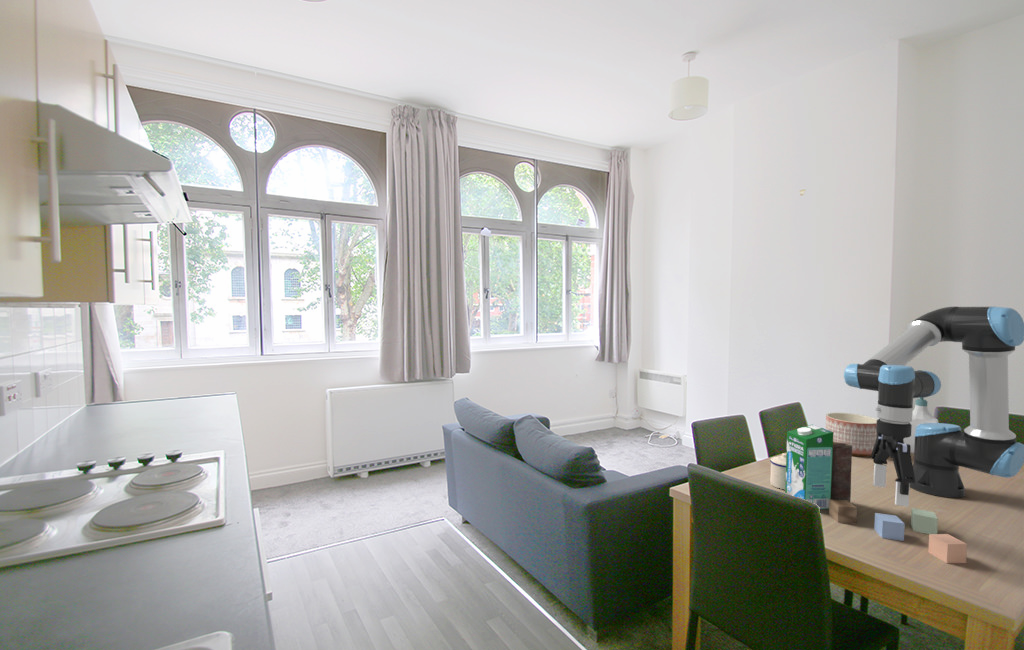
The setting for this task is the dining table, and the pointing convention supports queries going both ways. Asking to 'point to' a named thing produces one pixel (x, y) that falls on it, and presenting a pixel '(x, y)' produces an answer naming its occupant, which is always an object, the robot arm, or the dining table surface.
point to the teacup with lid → (778, 471)
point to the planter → (853, 431)
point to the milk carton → (809, 464)
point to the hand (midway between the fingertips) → (889, 495)
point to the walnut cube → (842, 511)
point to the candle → (841, 471)
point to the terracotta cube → (947, 548)
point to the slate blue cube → (889, 526)
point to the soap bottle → (919, 420)
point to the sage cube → (924, 521)
